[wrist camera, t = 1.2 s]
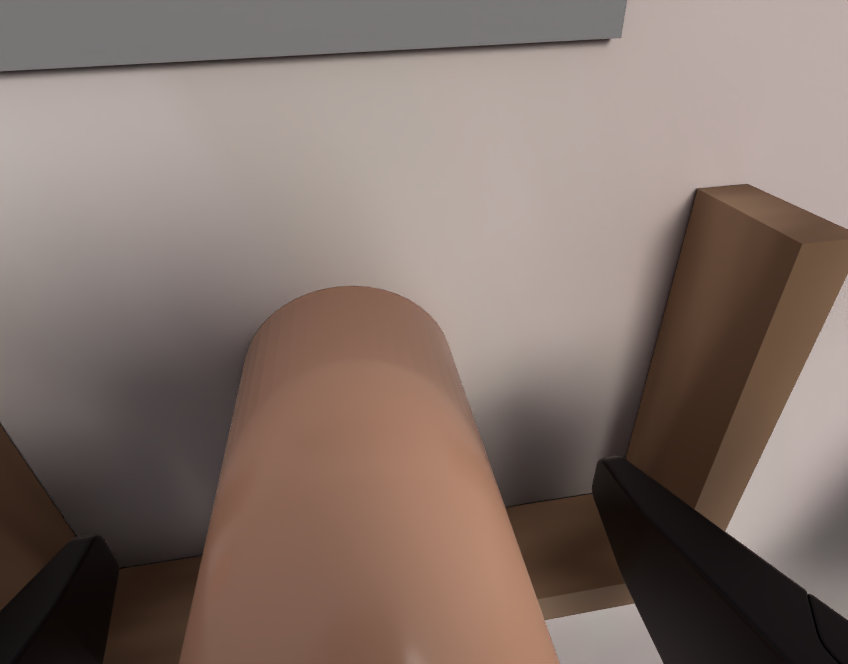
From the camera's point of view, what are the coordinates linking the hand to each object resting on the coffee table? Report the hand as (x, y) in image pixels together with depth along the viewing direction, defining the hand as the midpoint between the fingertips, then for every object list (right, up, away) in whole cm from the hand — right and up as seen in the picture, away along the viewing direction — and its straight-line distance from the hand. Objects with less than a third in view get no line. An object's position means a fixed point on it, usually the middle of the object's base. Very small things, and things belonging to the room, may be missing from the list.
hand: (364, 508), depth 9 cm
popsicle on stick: (-1, +1, +4) cm, 4 cm away
